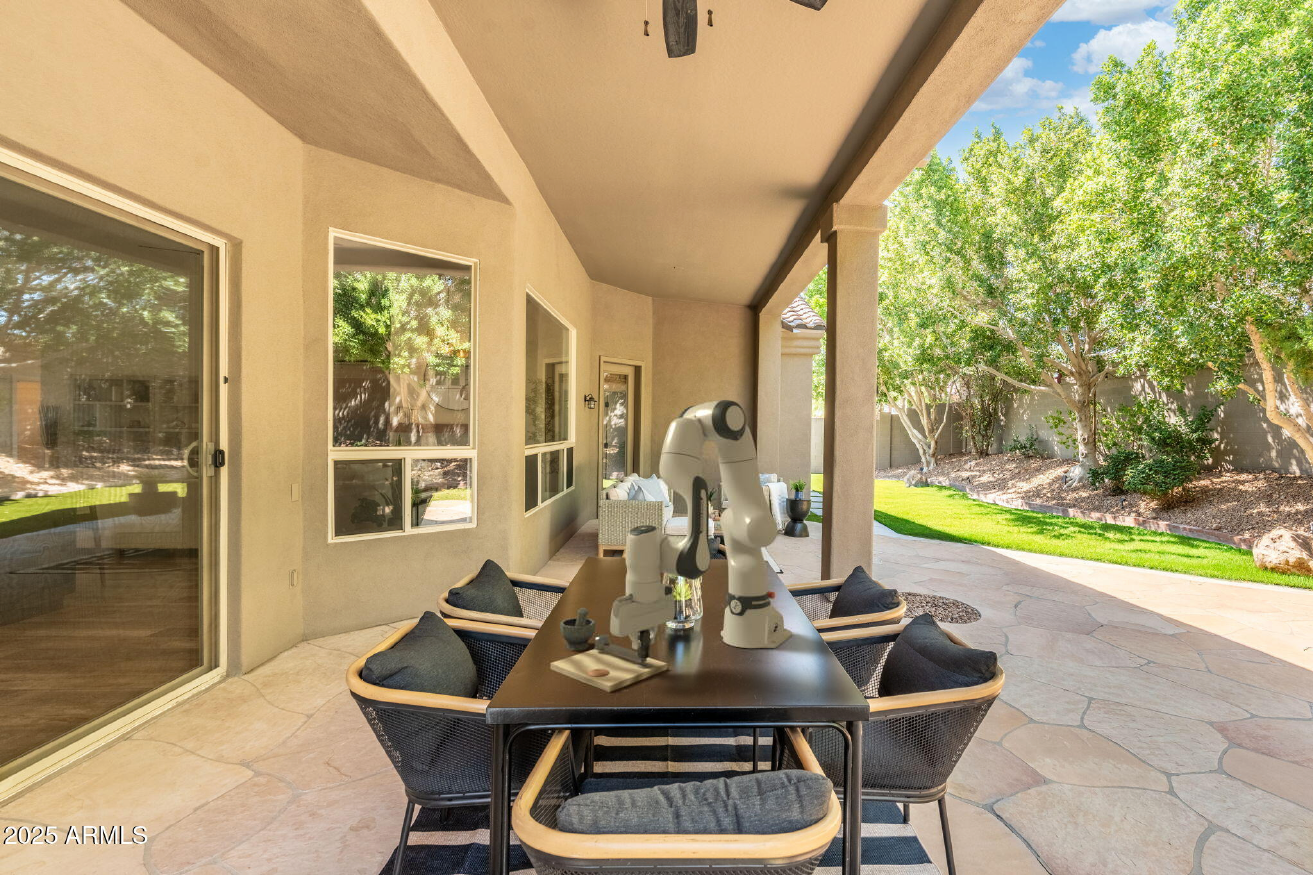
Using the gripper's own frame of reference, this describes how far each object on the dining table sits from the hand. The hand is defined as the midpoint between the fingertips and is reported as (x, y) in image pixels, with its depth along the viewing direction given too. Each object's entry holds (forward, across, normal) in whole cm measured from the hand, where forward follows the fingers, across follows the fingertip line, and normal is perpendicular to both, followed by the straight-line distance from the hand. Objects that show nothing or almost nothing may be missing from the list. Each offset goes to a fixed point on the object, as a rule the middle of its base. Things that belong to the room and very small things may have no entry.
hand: (643, 645), depth 160 cm
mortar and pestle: (+7, +1, +27) cm, 28 cm away
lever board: (+7, -5, +8) cm, 11 cm away
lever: (+4, 0, +8) cm, 9 cm away
